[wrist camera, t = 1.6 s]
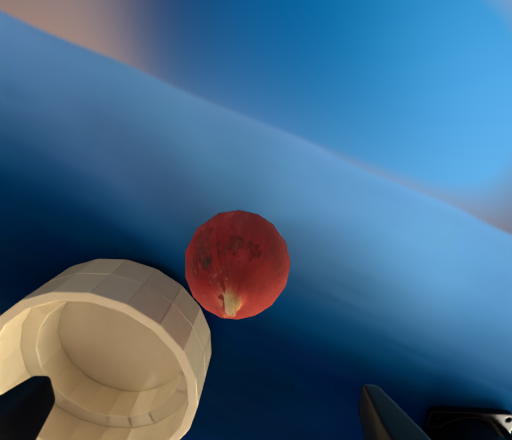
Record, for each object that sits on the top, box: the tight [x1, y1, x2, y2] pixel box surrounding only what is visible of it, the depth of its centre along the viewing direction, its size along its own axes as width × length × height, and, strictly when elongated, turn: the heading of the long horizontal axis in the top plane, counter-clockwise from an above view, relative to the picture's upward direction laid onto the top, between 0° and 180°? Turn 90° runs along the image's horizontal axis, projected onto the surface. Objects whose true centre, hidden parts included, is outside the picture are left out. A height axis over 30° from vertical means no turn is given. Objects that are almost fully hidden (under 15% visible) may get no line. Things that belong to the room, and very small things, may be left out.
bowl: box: [0, 259, 211, 440], centre depth 20 cm, size 13×13×5 cm
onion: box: [185, 210, 290, 319], centre depth 16 cm, size 6×6×8 cm
